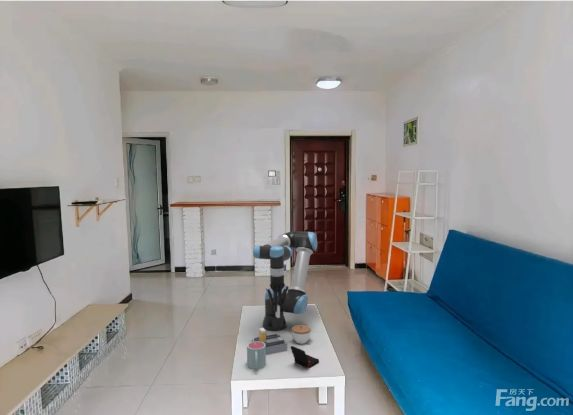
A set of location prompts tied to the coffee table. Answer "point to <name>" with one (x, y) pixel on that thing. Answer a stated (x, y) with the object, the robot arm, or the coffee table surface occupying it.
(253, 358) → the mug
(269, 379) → the coffee table surface
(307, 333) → the lidded jar
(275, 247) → the robot arm
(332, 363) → the coffee table surface
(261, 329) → the handle
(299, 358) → the handheld gaming console
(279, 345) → the switch panel
